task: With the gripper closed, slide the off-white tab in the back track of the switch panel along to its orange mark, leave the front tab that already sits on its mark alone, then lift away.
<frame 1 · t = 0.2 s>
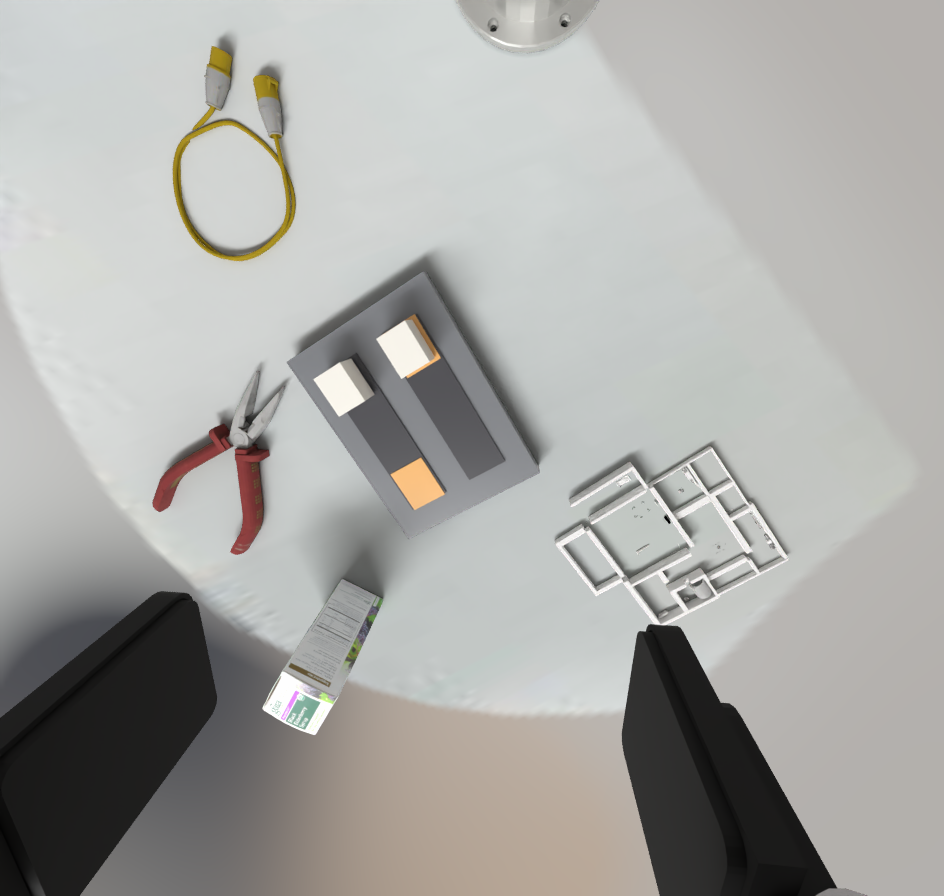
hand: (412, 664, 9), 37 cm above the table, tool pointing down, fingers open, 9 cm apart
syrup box: (353, 603, 54), on the table
tab b: (406, 348, 40), point 4 cm above the table, slide at 0.0 cm
extension cord: (244, 173, 41), on the table
pliers: (248, 470, 50), on the table
floor plan model: (633, 547, 49), on the table
tab a: (345, 387, 41), point 4 cm above the table, slide at 0.0 cm
switch panel: (419, 413, 46), on the table
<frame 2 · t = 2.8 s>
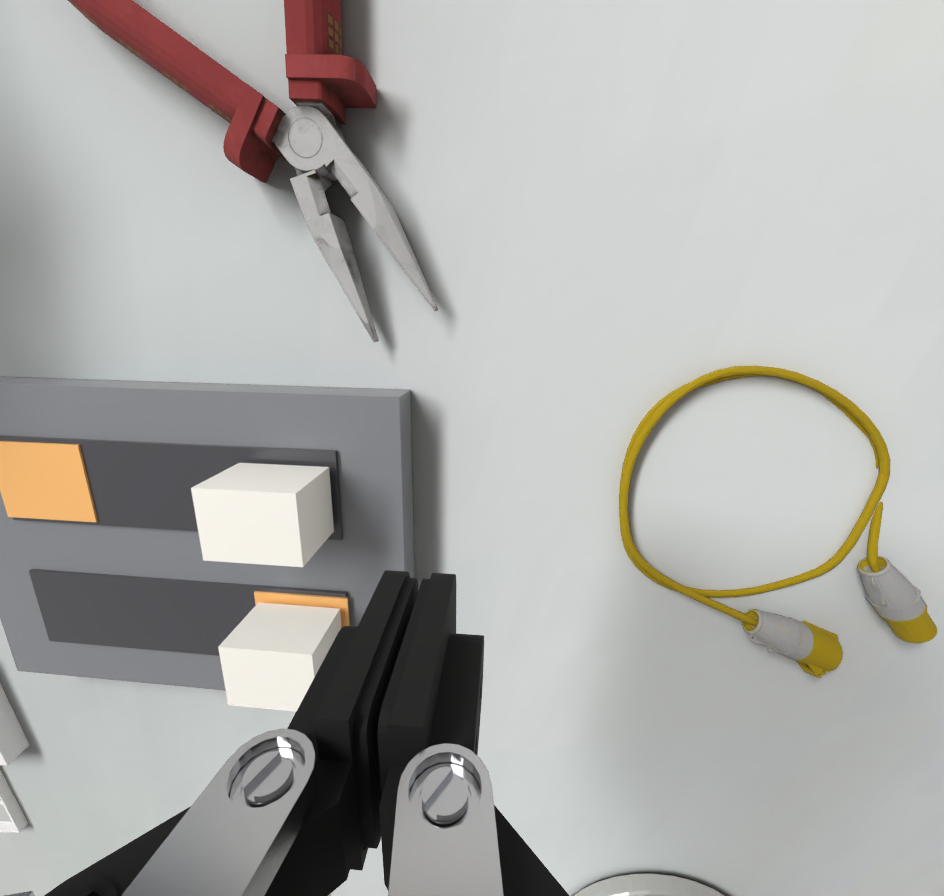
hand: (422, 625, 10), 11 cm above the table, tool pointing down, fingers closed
tab b: (286, 654, 20), point 4 cm above the table, slide at 0.0 cm
extension cord: (752, 521, 21), on the table
pliers: (244, 71, 18), on the table
tab a: (269, 511, 18), point 4 cm above the table, slide at 0.0 cm
switch panel: (207, 535, 23), on the table
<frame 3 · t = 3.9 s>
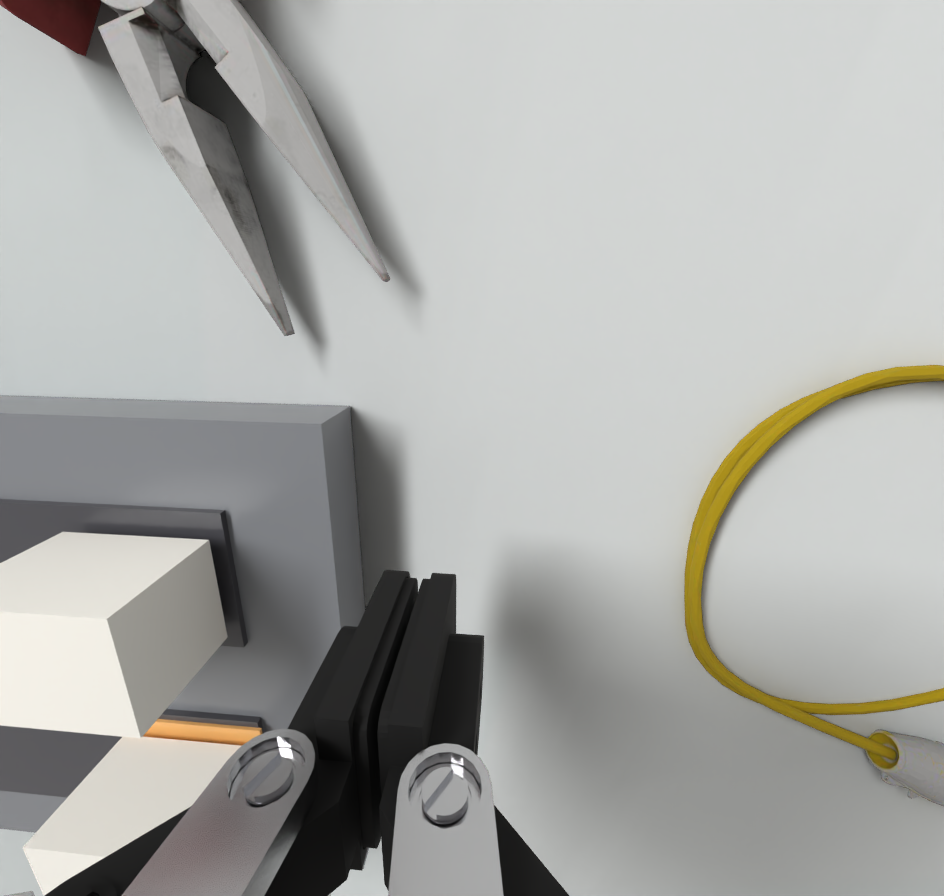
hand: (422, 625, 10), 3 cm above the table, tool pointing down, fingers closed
tab b: (158, 829, 13), point 4 cm above the table, slide at 0.0 cm
extension cord: (887, 602, 14), on the table
tab a: (97, 624, 10), point 4 cm above the table, slide at 0.0 cm
switch panel: (63, 618, 16), on the table
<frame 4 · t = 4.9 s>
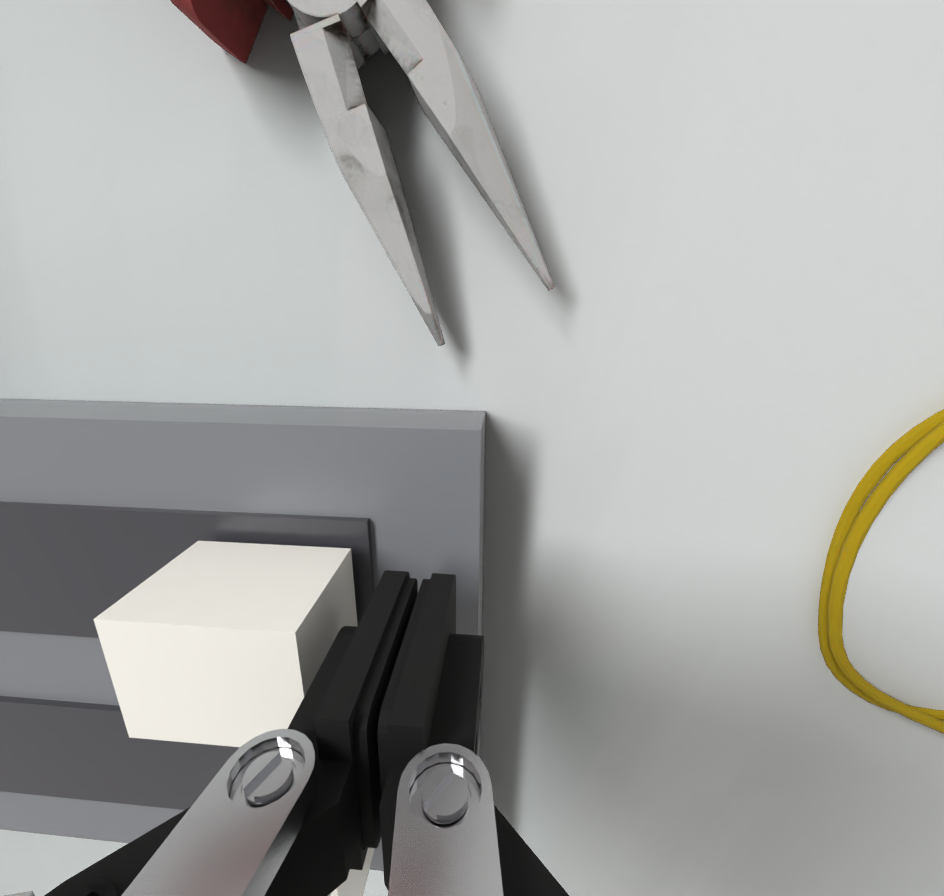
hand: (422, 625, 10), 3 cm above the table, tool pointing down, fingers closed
tab b: (291, 843, 12), point 4 cm above the table, slide at 0.0 cm
tab a: (248, 635, 10), point 4 cm above the table, slide at 0.2 cm, touching gripper
switch panel: (167, 626, 16), on the table
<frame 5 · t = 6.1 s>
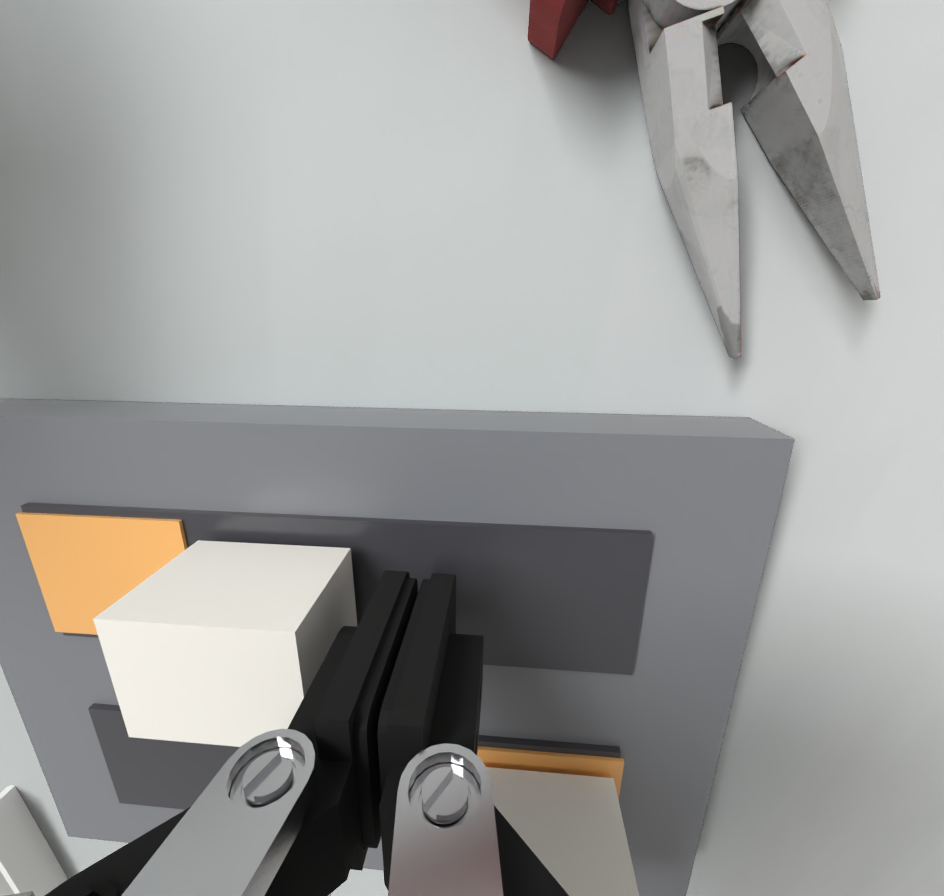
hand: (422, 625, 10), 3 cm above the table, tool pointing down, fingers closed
tab b: (543, 869, 12), point 4 cm above the table, slide at 0.0 cm
tab a: (248, 635, 10), point 4 cm above the table, slide at 7.1 cm, touching gripper
switch panel: (361, 639, 15), on the table
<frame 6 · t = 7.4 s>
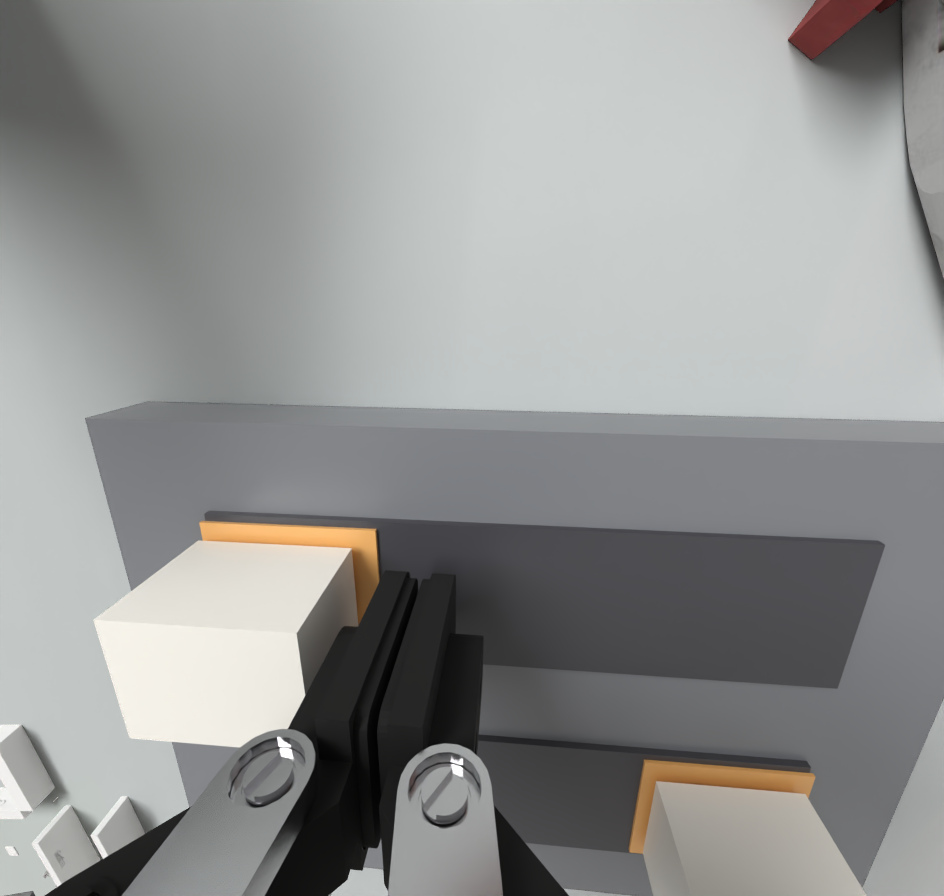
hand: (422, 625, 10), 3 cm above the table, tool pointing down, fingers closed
tab b: (746, 889, 11), point 4 cm above the table, slide at 0.0 cm
tab a: (249, 635, 10), point 4 cm above the table, slide at 12.3 cm, touching gripper
switch panel: (515, 649, 15), on the table
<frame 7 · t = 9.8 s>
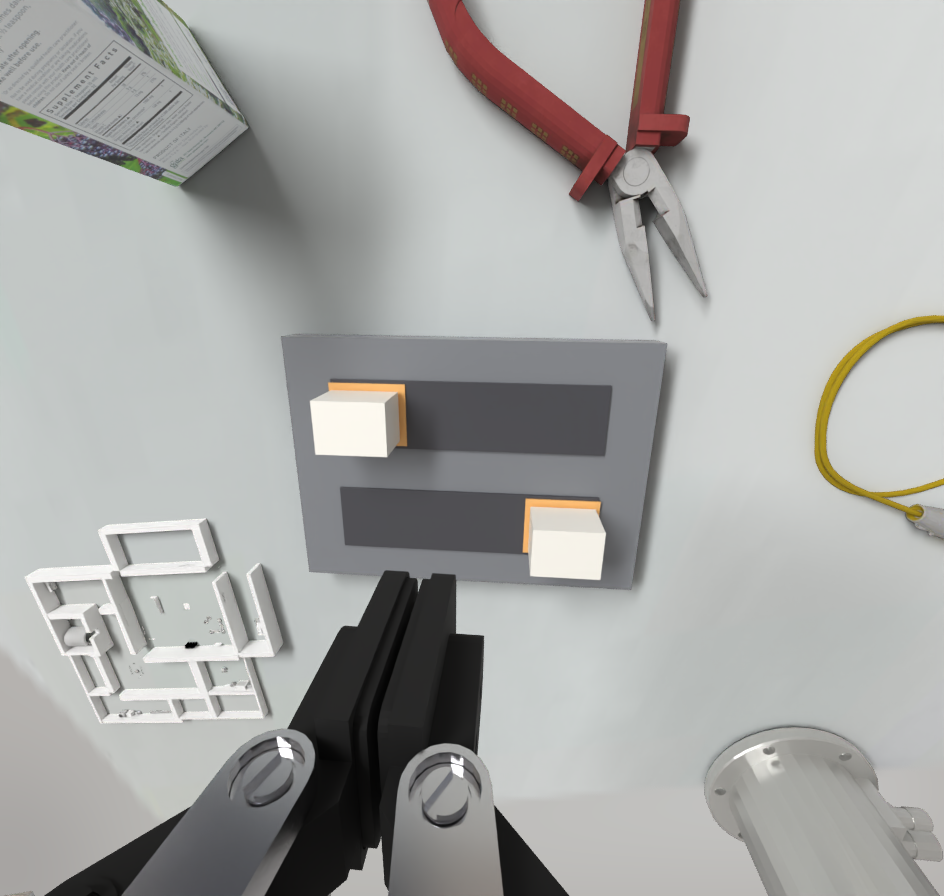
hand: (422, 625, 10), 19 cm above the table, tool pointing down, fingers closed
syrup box: (186, 109, 25), on the table
tab b: (563, 541, 27), point 4 cm above the table, slide at 0.0 cm
extension cord: (914, 437, 28), on the table
pliers: (567, 117, 24), on the table
floor plan model: (164, 589, 36), on the table
tab a: (358, 422, 25), point 4 cm above the table, slide at 12.1 cm
switch panel: (469, 460, 30), on the table
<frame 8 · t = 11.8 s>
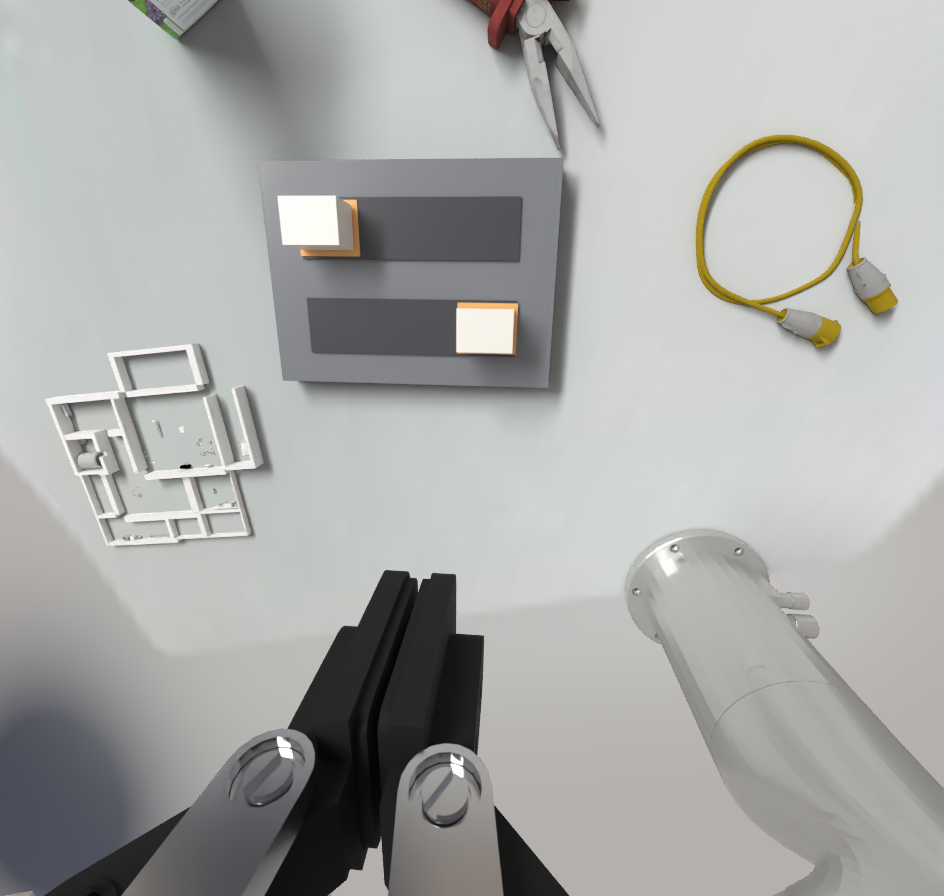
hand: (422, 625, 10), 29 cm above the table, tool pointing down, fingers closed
tab b: (485, 330, 33), point 4 cm above the table, slide at 0.0 cm
extension cord: (779, 251, 34), on the table
floor plan model: (163, 418, 42), on the table
tab a: (317, 224, 31), point 4 cm above the table, slide at 12.1 cm
switch panel: (415, 281, 36), on the table
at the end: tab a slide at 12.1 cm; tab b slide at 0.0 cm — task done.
